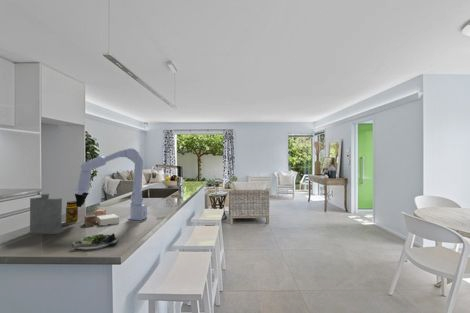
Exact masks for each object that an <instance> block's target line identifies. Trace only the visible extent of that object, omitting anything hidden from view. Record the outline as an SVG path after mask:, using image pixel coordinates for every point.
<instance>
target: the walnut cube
mask: <svg viewBox="0 0 470 313" xmlns="http://www.w3.org/2000/svg"><path fill="white" fill-rule="evenodd" d="M84 225H85V226H86V227H90V226H96V225H97V219H96V216H95V214H88V215H87V214H86V215H84ZM89 225H90V226H89Z"/></svg>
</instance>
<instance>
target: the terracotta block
mask: <svg viewBox="0 0 470 313" xmlns="http://www.w3.org/2000/svg"><path fill="white" fill-rule="evenodd" d="M94 215H95V216H96V220H97V216H102V215H107V208H105V209H95V211H94Z"/></svg>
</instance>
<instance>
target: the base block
mask: <svg viewBox="0 0 470 313" xmlns="http://www.w3.org/2000/svg"><path fill="white" fill-rule="evenodd" d="M96 224H98V225H99V226H100V227H102V226H101V225H103V226H109V225H108V224H111V225H117V224H120V216H118V215H117V214H115V213H112V214H106V215H102V216H97V219H96Z"/></svg>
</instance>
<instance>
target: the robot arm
mask: <svg viewBox="0 0 470 313" xmlns="http://www.w3.org/2000/svg"><path fill="white" fill-rule="evenodd" d="M117 158H127V159H128V160H130V161H131V162H133V164H134V169H133V170H134V171H133V186H132V191H131V193H132V194H131V195H130V197H129V198H130V201H131V203H130V210H129V212H130V217H128V218H127V220H131V221H132V220H133V221H134V220H135V221H142V220H145V219H147V218H148V207H147V205H146V204H144V203H143V201H144V197H143V191H142V185H143V184H142V183H143V170H144V167H143V166H144V160H143V158H142V157H141V155H140V152H138V151H137V150H136V149H134V147H133V148H126V149H122V150H118V151H115V152H113V153H111V154H108V155H106V156H102V155H98V156H96V157H95V158H93V159H92V158H91V159H88V161H84V162H83V163H81V166H80V169H81V170H80V173H79V177H78V182H77V188H74V191H76V192H77V193H75V194H74V197H75V201H76V205H77V207H78V208H81V207H82V206H83V205H84V204H85V202H86V200H87V197H88V195H89V194H90V193H89V190H90V189H89V188H90V185H91V184H90V182H91V177H92V171H93V169H94V170H95V169H98V168H101V167H103V166H105V165H107V162H110V161H113V160H116V159H117Z"/></svg>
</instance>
